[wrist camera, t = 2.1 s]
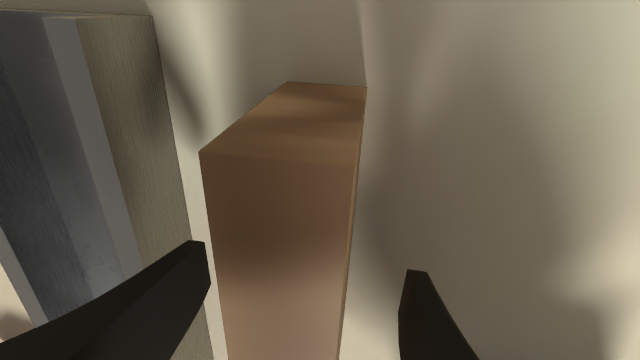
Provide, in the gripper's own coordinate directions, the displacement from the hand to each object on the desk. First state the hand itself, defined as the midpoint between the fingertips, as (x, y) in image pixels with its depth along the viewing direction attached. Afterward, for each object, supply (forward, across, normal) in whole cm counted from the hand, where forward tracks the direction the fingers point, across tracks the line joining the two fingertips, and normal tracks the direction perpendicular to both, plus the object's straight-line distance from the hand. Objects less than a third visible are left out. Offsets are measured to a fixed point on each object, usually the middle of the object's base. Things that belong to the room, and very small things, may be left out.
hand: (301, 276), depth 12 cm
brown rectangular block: (+4, 0, 0) cm, 4 cm away
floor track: (+4, +10, +3) cm, 11 cm away
